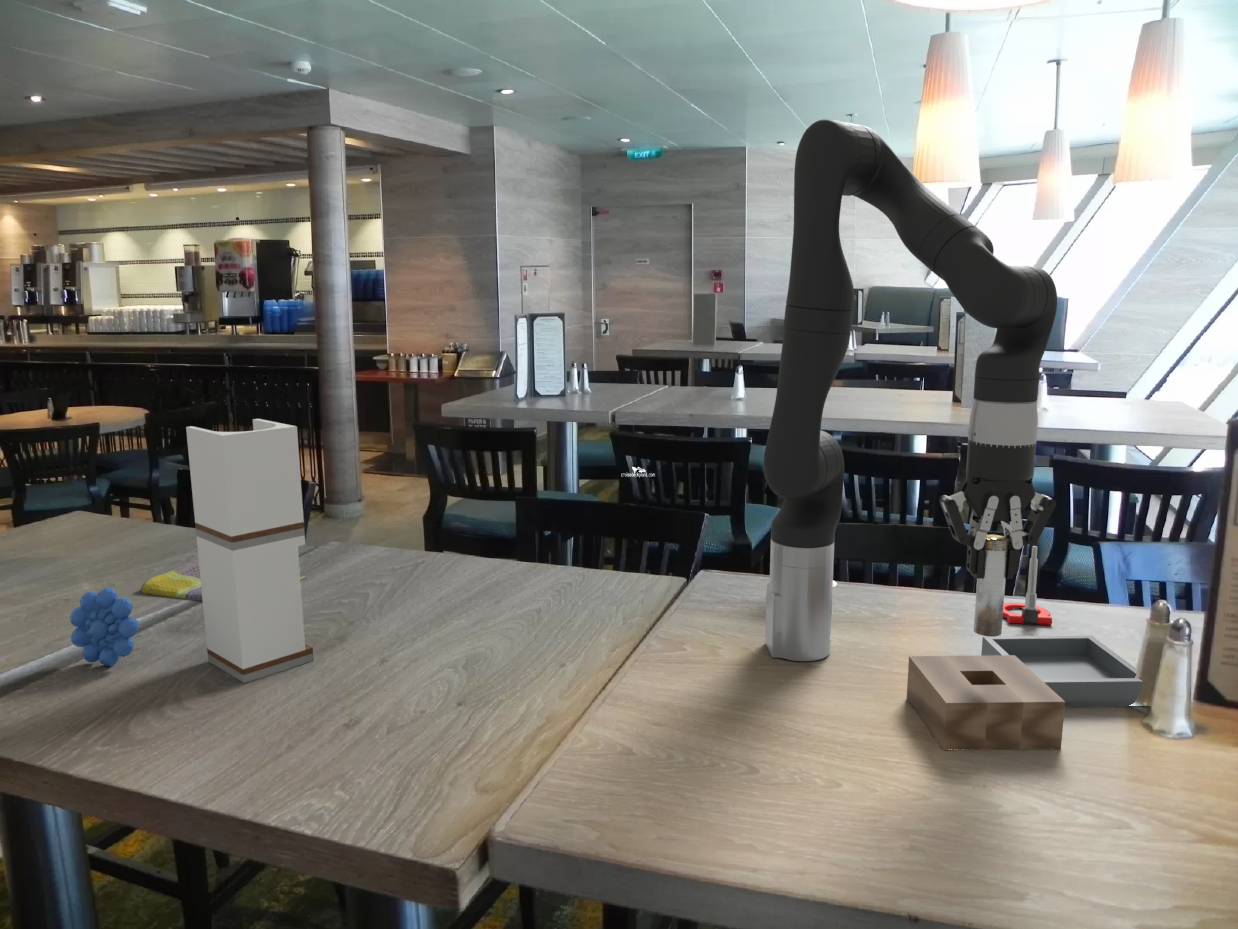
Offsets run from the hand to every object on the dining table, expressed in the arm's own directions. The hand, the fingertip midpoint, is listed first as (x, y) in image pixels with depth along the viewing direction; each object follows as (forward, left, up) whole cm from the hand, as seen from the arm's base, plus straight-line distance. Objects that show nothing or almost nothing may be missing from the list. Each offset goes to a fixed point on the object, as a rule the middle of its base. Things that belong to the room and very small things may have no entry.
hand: (991, 576), depth 115 cm
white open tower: (-98, +22, -19) cm, 103 cm away
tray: (+16, +12, -19) cm, 27 cm away
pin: (0, 0, -7) cm, 7 cm away
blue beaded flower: (-120, +21, -19) cm, 123 cm away
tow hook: (+22, +38, -19) cm, 48 cm away
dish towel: (-118, +58, -20) cm, 133 cm away
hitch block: (0, 0, -19) cm, 19 cm away
